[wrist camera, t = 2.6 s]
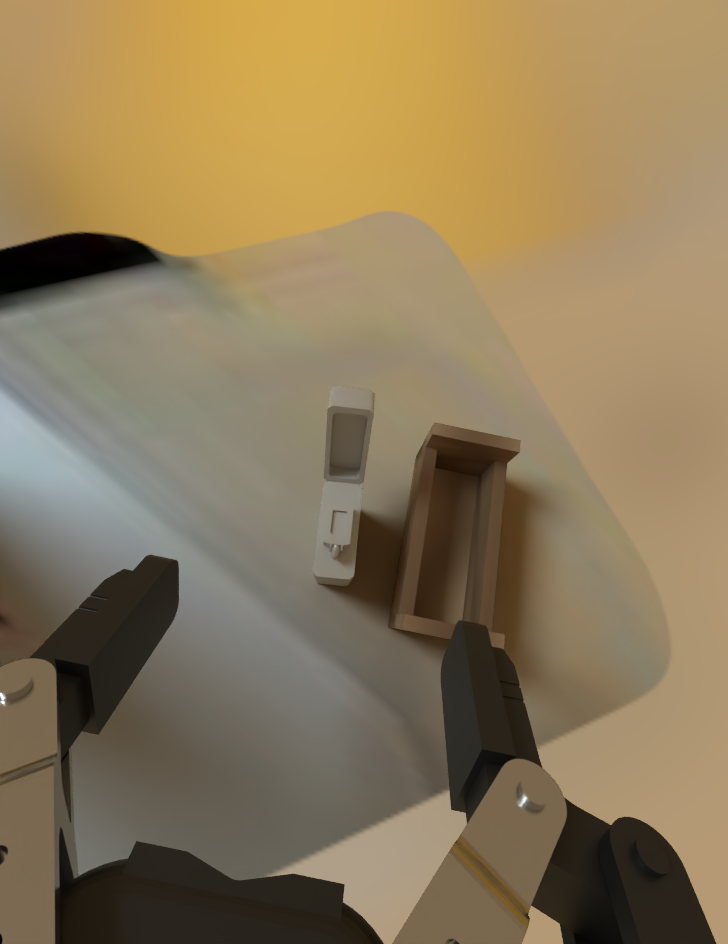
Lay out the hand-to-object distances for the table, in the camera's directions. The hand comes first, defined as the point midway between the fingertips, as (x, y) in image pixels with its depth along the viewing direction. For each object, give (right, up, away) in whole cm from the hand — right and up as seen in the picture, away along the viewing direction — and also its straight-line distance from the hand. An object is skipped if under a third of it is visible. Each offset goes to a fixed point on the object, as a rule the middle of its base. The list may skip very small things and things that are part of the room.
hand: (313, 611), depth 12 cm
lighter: (0, +2, +11) cm, 11 cm away
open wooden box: (+6, 0, +11) cm, 12 cm away
